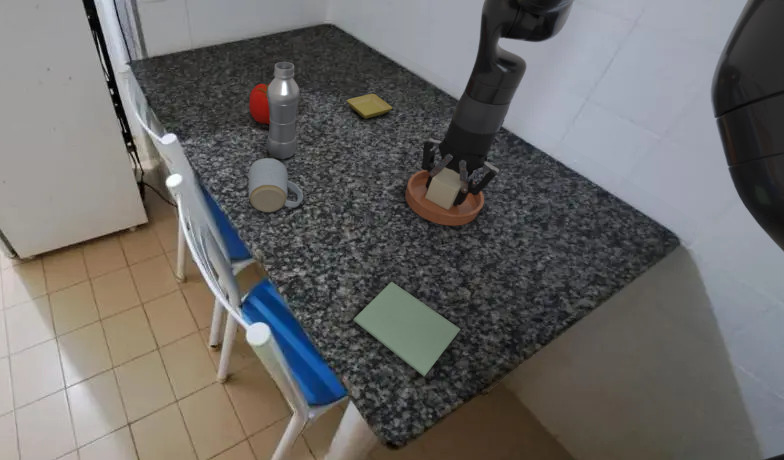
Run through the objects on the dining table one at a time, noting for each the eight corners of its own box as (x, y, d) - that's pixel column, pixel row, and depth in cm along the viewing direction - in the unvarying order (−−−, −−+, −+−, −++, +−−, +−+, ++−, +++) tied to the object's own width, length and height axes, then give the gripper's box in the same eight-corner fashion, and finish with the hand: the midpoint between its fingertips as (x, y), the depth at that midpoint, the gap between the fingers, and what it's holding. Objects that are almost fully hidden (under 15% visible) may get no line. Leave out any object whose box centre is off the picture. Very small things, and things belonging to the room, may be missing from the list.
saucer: (363, 122, 98) (365, 115, 96) (344, 106, 103) (346, 99, 102) (391, 115, 100) (393, 107, 99) (371, 100, 106) (373, 92, 104)
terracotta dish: (491, 201, 78) (496, 191, 76) (457, 237, 71) (462, 227, 69) (427, 169, 85) (431, 160, 83) (391, 199, 78) (393, 190, 76)
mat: (459, 330, 58) (460, 329, 57) (424, 376, 53) (425, 375, 52) (390, 283, 64) (391, 281, 63) (353, 320, 59) (353, 318, 58)
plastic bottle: (296, 162, 86) (303, 73, 71) (266, 162, 86) (266, 73, 71) (296, 146, 90) (301, 58, 76) (266, 145, 90) (267, 58, 76)
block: (460, 198, 77) (469, 178, 74) (447, 210, 75) (457, 190, 71) (437, 186, 80) (445, 166, 76) (424, 197, 77) (432, 177, 74)
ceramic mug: (248, 215, 74) (248, 184, 68) (249, 187, 80) (248, 156, 74) (304, 215, 74) (308, 184, 69) (300, 187, 80) (304, 156, 75)
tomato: (283, 136, 93) (284, 102, 87) (241, 126, 96) (239, 93, 89) (297, 115, 100) (299, 82, 93) (258, 106, 102) (257, 74, 96)
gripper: (426, 111, 66) (401, 188, 79) (510, 146, 59) (468, 225, 72) (448, 97, 70) (421, 172, 82) (529, 128, 63) (486, 205, 75)
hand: (443, 196), depth 77 cm, fingers closed on block, 5 cm apart
